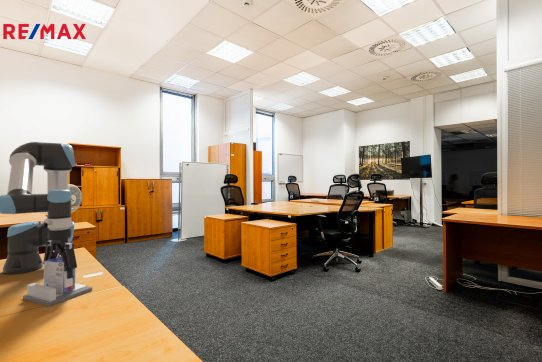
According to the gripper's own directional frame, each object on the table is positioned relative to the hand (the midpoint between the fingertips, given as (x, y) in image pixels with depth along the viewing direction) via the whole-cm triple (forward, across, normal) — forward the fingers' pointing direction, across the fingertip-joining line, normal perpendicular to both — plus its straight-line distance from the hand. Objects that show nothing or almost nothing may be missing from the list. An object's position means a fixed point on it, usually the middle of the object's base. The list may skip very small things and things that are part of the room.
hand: (59, 284), depth 110 cm
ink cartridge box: (+3, 0, 0) cm, 3 cm away
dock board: (+4, 0, 0) cm, 4 cm away
